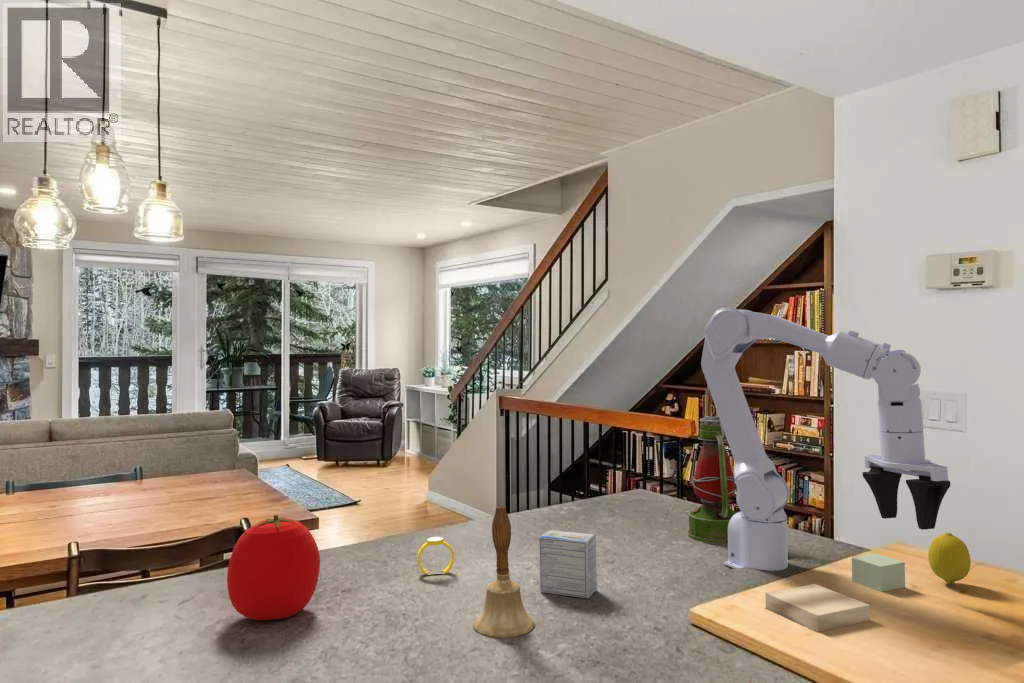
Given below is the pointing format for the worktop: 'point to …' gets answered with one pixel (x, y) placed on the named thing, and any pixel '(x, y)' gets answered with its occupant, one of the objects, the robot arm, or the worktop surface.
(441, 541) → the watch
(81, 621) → the worktop surface
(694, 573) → the worktop surface
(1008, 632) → the worktop surface
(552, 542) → the medicine box
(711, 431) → the lantern
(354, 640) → the worktop surface
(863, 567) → the cube
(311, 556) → the tomato
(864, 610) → the slab top
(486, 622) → the hand bell
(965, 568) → the lemon
